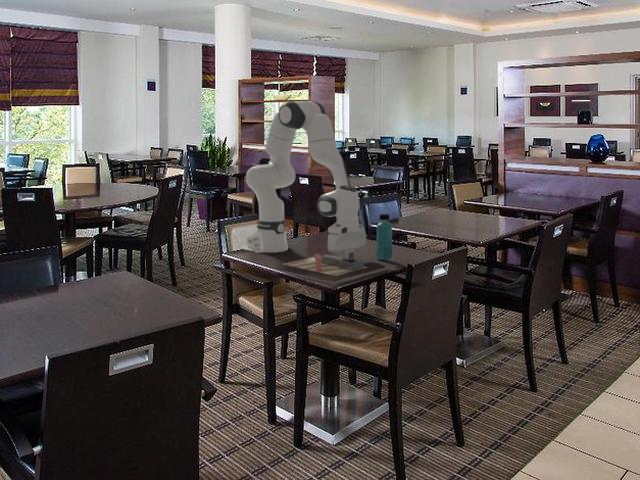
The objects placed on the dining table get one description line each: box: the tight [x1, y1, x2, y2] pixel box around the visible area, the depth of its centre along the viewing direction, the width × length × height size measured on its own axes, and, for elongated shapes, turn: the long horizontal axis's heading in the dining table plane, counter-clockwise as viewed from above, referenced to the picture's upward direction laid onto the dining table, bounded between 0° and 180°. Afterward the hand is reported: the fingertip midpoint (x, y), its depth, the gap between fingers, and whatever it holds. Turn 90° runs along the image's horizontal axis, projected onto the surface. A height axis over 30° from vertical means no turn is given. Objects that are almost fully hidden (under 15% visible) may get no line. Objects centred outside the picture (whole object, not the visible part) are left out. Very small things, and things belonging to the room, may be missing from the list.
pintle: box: [349, 252, 355, 262], centre depth 255 cm, size 2×2×6 cm
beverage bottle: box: [376, 213, 393, 261], centre depth 269 cm, size 6×7×20 cm
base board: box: [283, 256, 368, 277], centre depth 260 cm, size 29×19×1 cm, turn 47°
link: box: [321, 254, 364, 272], centre depth 259 cm, size 18×7×3 cm, turn 47°
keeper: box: [313, 253, 323, 271], centre depth 254 cm, size 7×2×5 cm, turn 7°
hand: (347, 260), depth 265 cm, fingers closed
